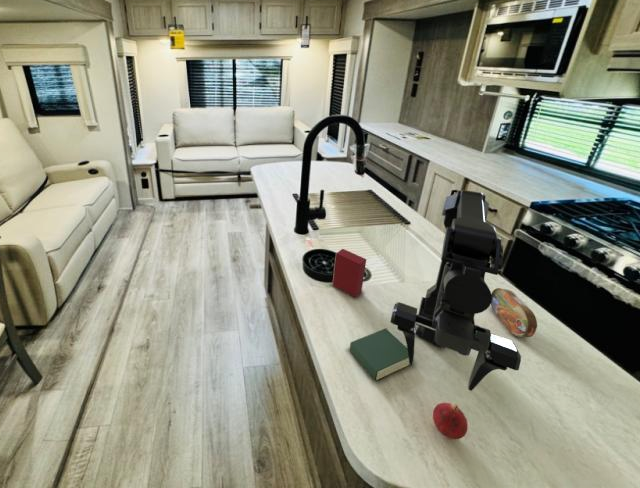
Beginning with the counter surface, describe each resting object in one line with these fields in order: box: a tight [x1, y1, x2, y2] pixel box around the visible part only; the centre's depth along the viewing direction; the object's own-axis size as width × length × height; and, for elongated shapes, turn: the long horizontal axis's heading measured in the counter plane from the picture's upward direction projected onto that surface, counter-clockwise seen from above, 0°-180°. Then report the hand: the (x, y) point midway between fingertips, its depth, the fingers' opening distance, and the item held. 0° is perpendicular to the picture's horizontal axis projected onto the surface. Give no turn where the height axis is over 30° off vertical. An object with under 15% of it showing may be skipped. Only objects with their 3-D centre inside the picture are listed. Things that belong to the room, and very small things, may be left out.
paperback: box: [332, 248, 367, 299], centre depth 102 cm, size 9×4×13 cm, turn 42°
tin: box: [490, 287, 538, 338], centre depth 88 cm, size 15×3×8 cm, turn 171°
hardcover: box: [349, 327, 411, 381], centre depth 79 cm, size 12×9×3 cm
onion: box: [432, 402, 469, 440], centre depth 62 cm, size 6×6×8 cm
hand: (439, 376), depth 57 cm, fingers open, 9 cm apart
